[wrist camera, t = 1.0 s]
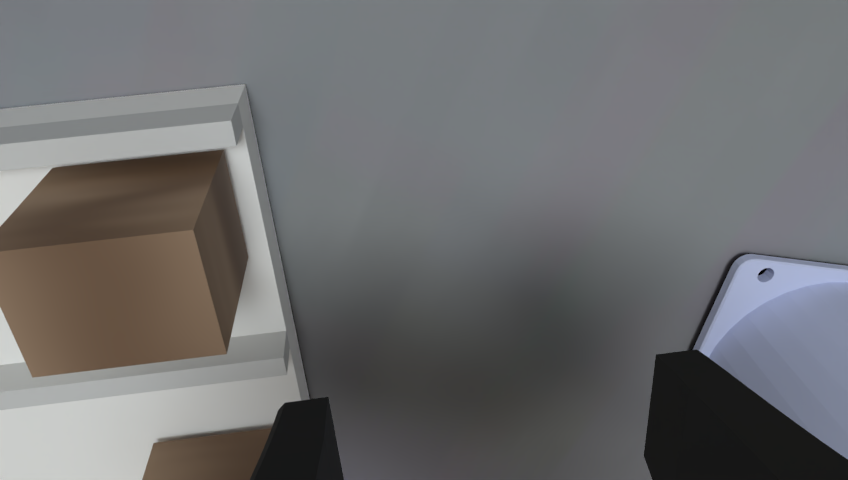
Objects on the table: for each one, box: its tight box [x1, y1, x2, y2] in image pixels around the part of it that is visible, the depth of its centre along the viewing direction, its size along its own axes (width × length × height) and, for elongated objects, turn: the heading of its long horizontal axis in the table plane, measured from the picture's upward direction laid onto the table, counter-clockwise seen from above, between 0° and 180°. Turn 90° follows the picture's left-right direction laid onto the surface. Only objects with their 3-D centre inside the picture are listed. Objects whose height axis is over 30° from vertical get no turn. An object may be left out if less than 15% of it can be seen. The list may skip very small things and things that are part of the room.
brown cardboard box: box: [0, 150, 248, 378], centre depth 16 cm, size 4×3×4 cm
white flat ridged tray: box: [0, 84, 310, 480], centre depth 22 cm, size 12×23×3 cm, turn 4°
